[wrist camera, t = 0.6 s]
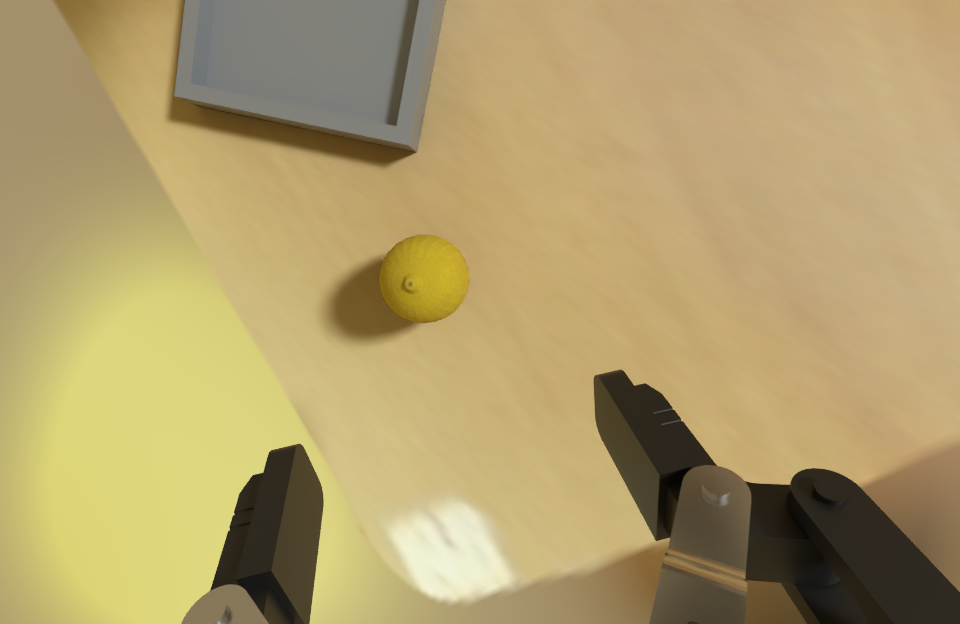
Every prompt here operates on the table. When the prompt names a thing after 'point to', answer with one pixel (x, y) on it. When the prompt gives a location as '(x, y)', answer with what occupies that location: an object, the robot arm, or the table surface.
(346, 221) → the table surface
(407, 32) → the tray
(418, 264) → the lemon
